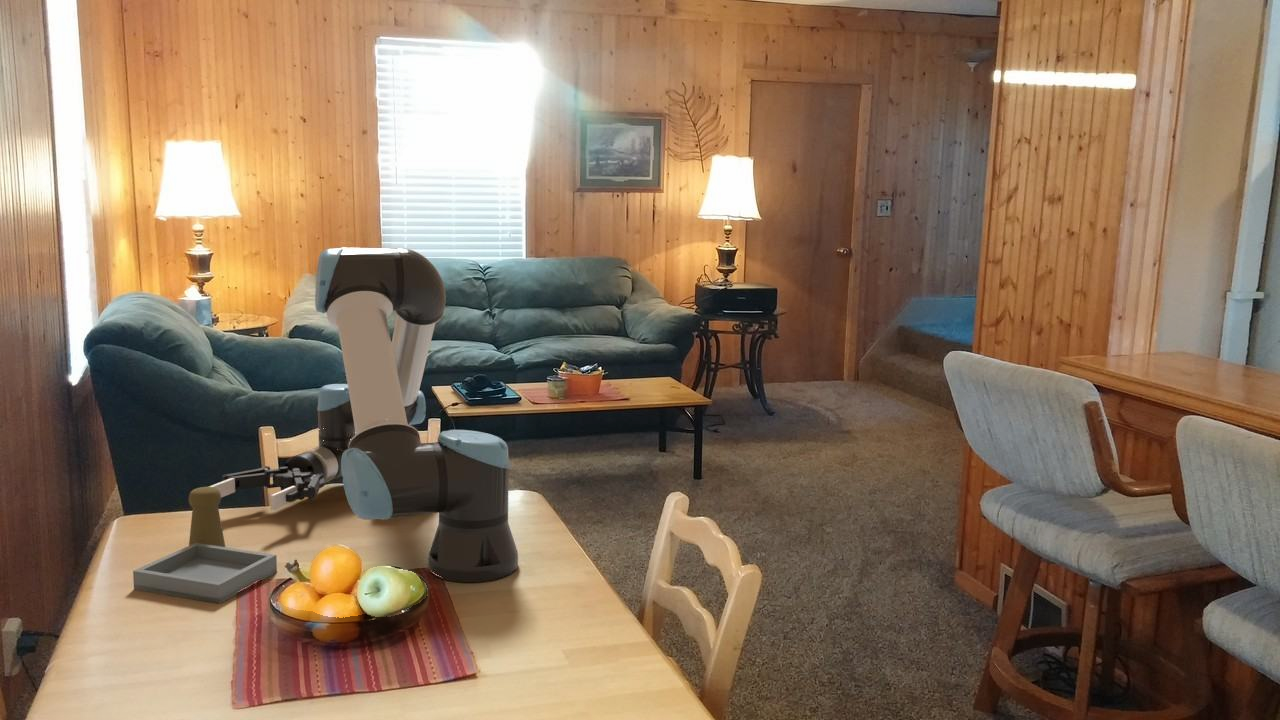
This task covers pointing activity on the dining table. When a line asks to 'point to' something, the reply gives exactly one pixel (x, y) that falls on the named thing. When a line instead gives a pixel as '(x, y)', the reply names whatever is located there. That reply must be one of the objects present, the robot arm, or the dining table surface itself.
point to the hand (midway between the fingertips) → (240, 498)
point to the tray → (205, 572)
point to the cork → (206, 517)
